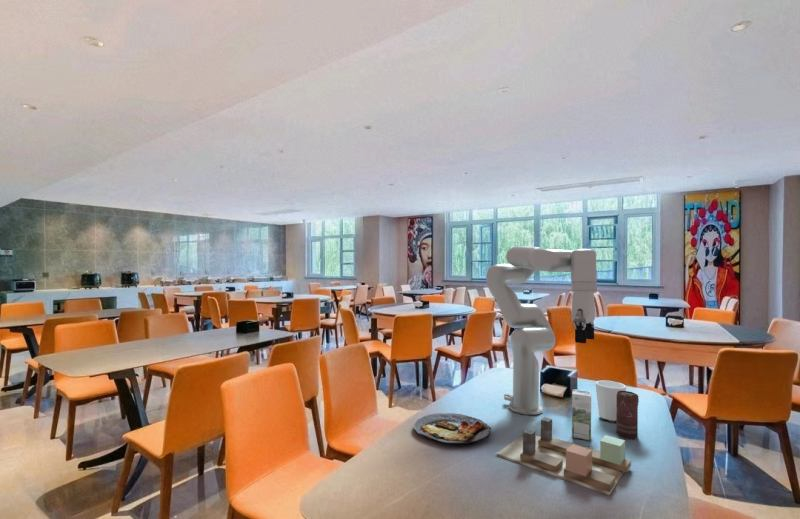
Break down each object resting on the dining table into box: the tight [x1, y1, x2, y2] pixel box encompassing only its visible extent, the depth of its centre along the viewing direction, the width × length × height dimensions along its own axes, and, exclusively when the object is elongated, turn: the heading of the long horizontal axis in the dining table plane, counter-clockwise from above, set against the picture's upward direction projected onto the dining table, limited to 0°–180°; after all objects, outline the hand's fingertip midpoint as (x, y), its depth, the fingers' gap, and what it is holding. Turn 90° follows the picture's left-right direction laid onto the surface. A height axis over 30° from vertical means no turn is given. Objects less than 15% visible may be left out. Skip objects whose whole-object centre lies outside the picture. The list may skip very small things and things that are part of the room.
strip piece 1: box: [520, 428, 563, 472], centre depth 112 cm, size 10×5×8 cm, turn 49°
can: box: [615, 390, 640, 440], centre depth 132 cm, size 6×6×14 cm
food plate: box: [413, 412, 492, 445], centre depth 134 cm, size 25×23×4 cm
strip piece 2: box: [564, 467, 615, 492], centre depth 103 cm, size 11×5×2 cm, turn 49°
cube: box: [599, 434, 626, 465], centre depth 111 cm, size 5×5×5 cm
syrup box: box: [571, 388, 592, 441], centre depth 131 cm, size 6×6×14 cm
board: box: [496, 434, 625, 496], centre depth 115 cm, size 30×20×1 cm, turn 49°
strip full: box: [538, 416, 632, 473], centre depth 116 cm, size 24×5×8 cm, turn 48°
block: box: [566, 443, 592, 476], centre depth 105 cm, size 5×5×5 cm
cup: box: [595, 379, 627, 423], centre depth 146 cm, size 10×10×13 cm
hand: (584, 340), depth 129 cm, fingers open, 9 cm apart
